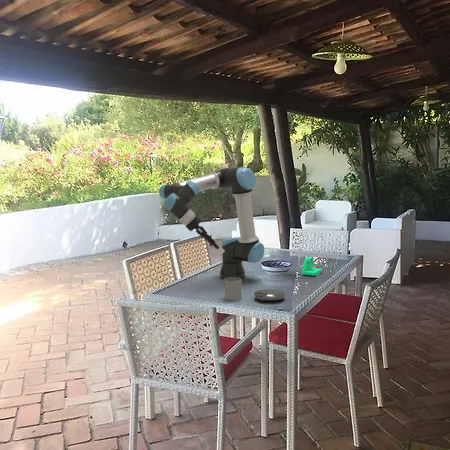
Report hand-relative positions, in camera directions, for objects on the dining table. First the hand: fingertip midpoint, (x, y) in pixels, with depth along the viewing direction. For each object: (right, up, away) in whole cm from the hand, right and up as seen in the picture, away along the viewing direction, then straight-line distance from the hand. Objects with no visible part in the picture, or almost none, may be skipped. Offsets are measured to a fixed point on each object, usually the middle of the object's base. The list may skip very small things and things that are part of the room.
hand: (220, 250), depth 242 cm
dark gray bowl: (+24, -24, +2) cm, 34 cm away
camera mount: (+54, -17, +51) cm, 76 cm away
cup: (+6, -24, +4) cm, 25 cm away
